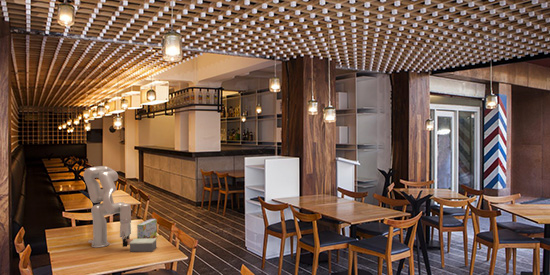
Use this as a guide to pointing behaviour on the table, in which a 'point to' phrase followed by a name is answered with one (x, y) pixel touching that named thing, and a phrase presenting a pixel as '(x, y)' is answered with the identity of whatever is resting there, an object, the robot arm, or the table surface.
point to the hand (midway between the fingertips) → (126, 245)
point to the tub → (142, 247)
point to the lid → (141, 241)
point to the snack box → (147, 229)
